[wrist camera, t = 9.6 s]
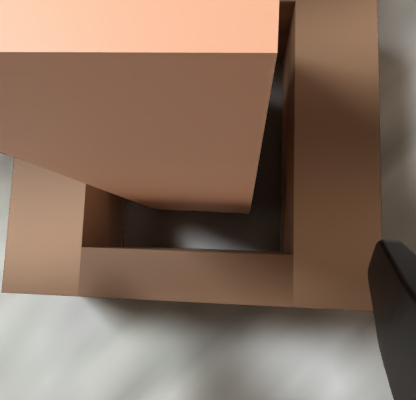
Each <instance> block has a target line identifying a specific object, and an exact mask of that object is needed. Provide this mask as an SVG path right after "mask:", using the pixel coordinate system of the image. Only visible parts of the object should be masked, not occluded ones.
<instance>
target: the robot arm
mask: <svg viewBox="0 0 416 400" xmlns="http://www.w3.org/2000/svg"><path fill="white" fill-rule="evenodd" d="M368 283H369V289H370V295H371V301H372V307H373V313H374V319H375V326H376V332H377V338H378V343H379V348H380V352H381V356H382V360H383V364H384V367H385V371H386V374H387V378H388V381H389V385H390V388H391V392H392V395H393V398H394V400H416V253H414V252H413V251H412V250H411V249H410V248H408V247H407V246H406V245H405V244H404V243H402V242H401V241H397V240H380V241H378V242H377V243H376V245H375V248H374V251H373V254H372V257H371V260H370V263H369V267H368Z"/></svg>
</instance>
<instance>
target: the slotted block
mask: <svg viewBox="0 0 416 400" xmlns="http://www.w3.org/2000/svg"><path fill="white" fill-rule="evenodd" d="M276 62H283V87H282V171H281V252H273V251H246V250H218V249H190V248H163V247H135V246H123V238H124V221H125V204H126V198H123V197H120V196H118V195H115V194H112V193H110V192H107V191H104V190H101V189H99V188H96V187H93V186H91V185H88V184H85V183H83V182H80V181H77V180H74V179H72V178H69V177H66V176H64V175H61V174H58V173H56V172H53V171H50V170H47V169H45V168H42V167H39V166H37V165H34V164H31V163H28V162H26V161H23V160H20V159H18V158H15V157H14V165H13V176H12V186H11V197H10V208H9V218H8V229H7V240H6V250H5V261H4V272H3V282H2V293H22V294H42V295H61V296H81V297H101V298H120V299H140V300H159V301H179V302H199V303H218V304H238V305H258V306H277V307H297V308H317V309H336V310H356V311H373V307H372V301H371V295H370V289H369V283H368V267H369V263H370V260H371V257H372V254H373V251H374V248H375V245H376V243H377V242H378V241H380V240H382V224H381V169H380V115H379V61H378V7H377V0H279V25H278V52H277V58H276Z"/></svg>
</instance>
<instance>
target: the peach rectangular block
mask: <svg viewBox="0 0 416 400" xmlns="http://www.w3.org/2000/svg"><path fill="white" fill-rule="evenodd" d="M278 25H279V0H0V152H1V153H4V154H7V155H10V156H12V157H15V158H18V159H20V160H23V161H26V162H28V163H31V164H34V165H37V166H39V167H42V168H45V169H47V170H50V171H53V172H56V173H58V174H61V175H64V176H66V177H69V178H72V179H74V180H77V181H80V182H83V183H85V184H88V185H91V186H93V187H96V188H99V189H101V190H104V191H107V192H110V193H112V194H115V195H118V196H120V197H123V198H126V199H128V200H131V201H134V202H137V203H139V204H142V205H145V206H147V207H150V208H153V209H164V210H185V211H206V212H227V213H248V214H250V209H251V203H252V197H253V191H254V186H255V180H256V174H257V168H258V163H259V157H260V151H261V145H262V139H263V134H264V128H265V122H266V116H267V110H268V105H269V99H270V93H271V87H272V82H273V76H274V70H275V64H276V58H277V52H278Z"/></svg>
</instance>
